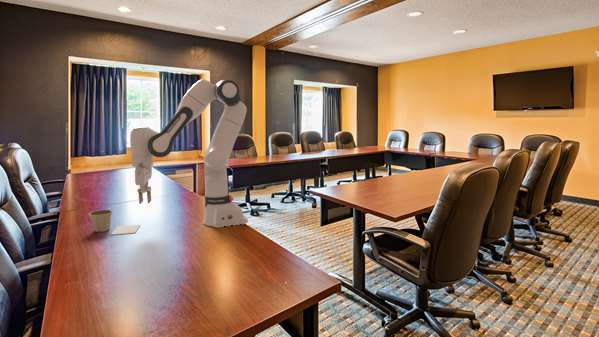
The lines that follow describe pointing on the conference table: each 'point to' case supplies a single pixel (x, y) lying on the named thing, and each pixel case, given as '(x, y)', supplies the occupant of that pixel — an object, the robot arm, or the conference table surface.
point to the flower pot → (101, 220)
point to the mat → (125, 229)
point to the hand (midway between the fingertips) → (144, 191)
